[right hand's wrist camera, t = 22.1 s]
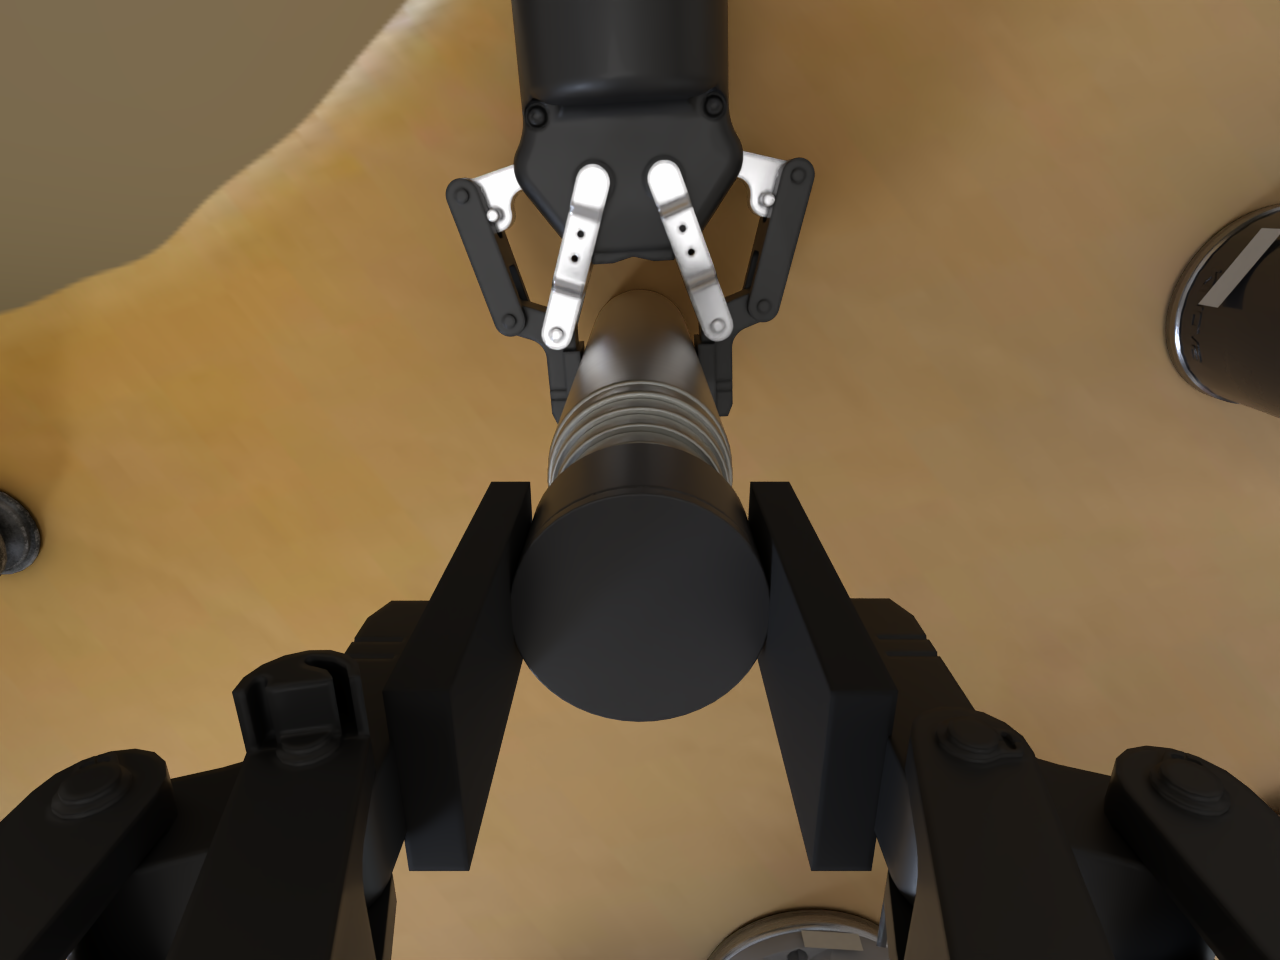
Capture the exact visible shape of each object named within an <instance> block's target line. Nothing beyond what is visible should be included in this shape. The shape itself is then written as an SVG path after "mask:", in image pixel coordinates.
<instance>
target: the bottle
mask: <svg viewBox="0 0 1280 960" xmlns="http://www.w3.org/2000/svg"><path fill="white" fill-rule="evenodd" d="M627 443H652V444H660V445H665V446H670V447H674V448H676V449H679V450H682V451H685V452H688V453H690V454H692V455H694V456H696V457H698V458H700V459H701V460H703V461H704V462H706V463H707V464H709V465H710V466H712V467H713V468H714V469H715V470H716V471H717V472H718V473H720V474H721V475H722V476H723V477H724V478H725V480H726V481H727V482H728V483H729V484H730V485H731V487H732V482H733V473H732V457H731V451H730V446H729V442H728V439H727V436H726V433H725V430H724V428H723V425H722V422H721V419H720V417H719V414H718V411H717V408H716V406H715V403H714V400H713V397H712V395H711V392H710V389H709V386H708V384H707V381H706V378H705V375H704V373H703V370H702V367H701V364H700V362H699V359H698V356H697V353H696V351H695V348H694V345H693V342H692V340H691V337H690V334H689V331H688V328H687V326H686V323H685V320H684V318H683V316H682V314H681V312H680V311H679V309H678V308H677V307H676V306H675V304H674V303H672V302H671V301H670V300H669V299H668V298H666V297H665V296H663V295H661V294H659V293H656V292H653V291H649V290H632V291H627V292H624V293H621V294H619V295H617V296H616V297H614V298H613V299H611V300H610V301H609V302H608V303H607V304H606V305H605V306H604V307H603V308H602V309H601V311H600V313H599V314H598V316H597V318H596V321H595V323H594V326H593V329H592V332H591V335H590V337H589V340H588V343H587V346H586V348H585V351H584V354H583V357H582V359H581V362H580V365H579V368H578V370H577V373H576V376H575V379H574V381H573V384H572V387H571V390H570V392H569V395H568V398H567V401H566V403H565V406H564V409H563V412H562V415H561V417H560V420H559V423H558V426H557V428H556V431H555V434H554V437H553V440H552V443H551V446H550V452H549V458H548V487H549V486H550V484H551V483H552V482H553V481H554V480H555V479H556V478H557V477H558V476H559V475H560V473H562V472H563V471H564V470H565V469H567V468H568V467H569V466H570V465H571V464H573V463H575V462H576V461H578V460H579V459H581V458H583V457H584V456H586V455H589V454H591V453H593V452H595V451H597V450H601V449H603V448H607V447H610V446H615V445H621V444H627Z"/></svg>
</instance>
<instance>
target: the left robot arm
mask: <svg viewBox="0 0 1280 960" xmlns="http://www.w3.org/2000/svg"><path fill="white" fill-rule="evenodd" d="M511 2H512V12H513V22H514V33H515V43H516V53H517V63H518V73H519V83H520V93H521V103H522V113H523V131H522V137H521V140H520V144H519V146H518V149H517V151H516V154H515V157H514V164H513V165H510V166H508V167H505V168H502V169H499V170H496V171H493V172H491V173H488V174H485V175H482V176H479V177H477V178H474V179H472V178H458V179H455V180H453V181H452V182H450V184H449V185H448V187H447V189H446V199H447V202H448V205H449V208H450V210H451V213H452V215H453V218H454V221H455V223H456V226H457V228H458V231H459V233H460V236H461V239H462V241H463V244H464V246H465V249H466V252H467V254H468V257H469V259H470V262H471V265H472V267H473V270H474V272H475V275H476V277H477V280H478V283H479V285H480V288H481V290H482V293H483V296H484V298H485V301H486V303H487V306H488V308H489V311H490V314H491V316H492V319H493V321H494V324H495V326H496V328H497V330H498V331H499V332H500V333H501V334H503V335H505V336H510V337H511V336H516V335H517V336H520V337H524V338H527V339H530V340H533V341H535V342H537V343H539V344H540V345H541V346H542V347H543V349H544V350H545V352H546V356H547V364H548V374H549V385H550V395H551V405H552V414H553V416H554V418H555V420H556V422H557V424H558V423H559V420H560V417H561V415H562V412H563V409H564V406H565V403H566V401H567V398H568V395H569V392H570V390H571V387H572V384H573V381H574V379H575V376H576V373H577V370H578V368H579V365H580V362H581V359H582V357H583V354H584V351H585V350H584V341H579V339H578V327H577V325H578V321H579V317H580V313H581V309H582V306H583V302H584V298H585V294H586V290H587V287H588V283H589V280H590V276H591V272H592V268H593V264H608V263H615V262H618V261H621V260H624V259H627V258H630V257H639V258H643V259H648V260H652V261H662V260H674V258H675V261H676V263H677V266H678V269H679V271H680V274H681V277H682V279H683V282H684V284H685V287H686V290H687V292H688V295H689V298H690V300H691V303H692V306H693V308H694V311H695V314H696V316H697V319H698V322H699V335H694V348H695V351H696V353H697V356H698V359H699V362H700V364H701V367H702V370H703V373H704V375H705V378H706V381H707V384H708V386H709V389H710V392H711V395H712V397H713V400H714V403H715V406H716V408H717V411H718V414H719V416H728V414H729V412H730V409H731V407H732V343H733V340H734V338H735V336H736V335H737V333H739V332H740V331H741V330H742V329H744V328H747V327H749V326H751V325H754V324H756V323H758V322H767V321H770V320H772V319H773V318H774V317H775V316H776V315H777V313H778V311H779V307H780V304H781V300H782V296H783V293H784V289H785V285H786V281H787V278H788V274H789V270H790V267H791V263H792V259H793V255H794V252H795V248H796V244H797V241H798V237H799V233H800V229H801V226H802V222H803V218H804V215H805V211H806V207H807V203H808V200H809V196H810V192H811V189H812V185H813V181H814V177H815V172H814V168H813V166H812V164H811V163H810V162H809V161H808V160H806V159H804V158H794V159H790V160H786V161H785V160H780V159H776V158H771V157H767V156H763V155H758V154H754V153H749V152H745V151H743V148H742V145H741V142H740V140H739V138H738V136H737V134H736V132H735V131H734V128H733V126H732V123H731V119H730V115H729V104H728V0H511ZM736 178H737V179H739V180H741V181H742V182H743V183H744V184H745V186H746V188H747V194H748V195H747V205H748V208H749V209H750V211H751V212H752V213H753V214H755V215H757V216H761V217H760V221H759V225H758V229H757V233H756V237H755V241H754V245H753V249H752V253H751V257H750V261H749V265H748V269H747V273H746V277H745V281H744V285H743V289H742V290H741V291H739V292H737V293H734V294H732V295H730V296H727V297H725V298H724V295H723V293H722V290H721V287H720V284H719V281H718V278H717V274H716V271H715V268H714V265H713V262H712V260H711V257H710V254H709V251H708V248H707V246H706V243H705V240H704V237H703V235H702V231H703V230H704V228H705V227H706V225H707V223H708V222H709V220H710V219H711V217H712V216H713V214H714V213H715V211H716V209H717V208H718V206H719V205H720V203H721V202H722V200H723V199H724V197H725V195H726V194H727V192H728V191H729V189H730V188H731V186H732V184H733V183H734V181H735V180H736ZM522 191H524V193H525V194H526V195H527V196H528V198H529V199H530V200H531V201H532V202H533V204H534V205H535V206H536V207H537V209H538V210H539V211H540V212H541V214H542V215H543V216H544V217H545V219H546V220H547V221H548V222H549V224H550V225H551V226H552V227H553V229H554V230H555V231H556V232H557V233H558V235H559V236H560V237H561V238H562V243H561V247H560V251H559V255H558V260H557V264H556V268H555V272H554V276H553V281H552V289H551V294H550V298H549V302H548V306H547V307H546V306H543V305H539V304H536V303H533V302H530V299H529V297H528V294H527V291H526V288H525V286H524V283H523V280H522V277H521V275H520V272H519V269H518V267H517V264H516V261H515V258H514V256H513V253H512V250H511V247H510V245H509V242H508V239H507V236H506V234H505V230H507V229H509V228H510V227H511V226H512V225H513V224H514V222H515V218H516V213H515V208H514V203H515V199H516V197H517V195H518V194H519V193H520V192H522ZM1166 341H1167V347H1168V351H1169V355H1170V357H1171V360H1172V362H1173V364H1174V366H1175V368H1176V370H1177V371H1178V373H1179V374H1180V375H1181V376H1182V378H1183V379H1184V380H1185V381H1186V382H1187V383H1188V384H1190V385H1191V386H1192V387H1193V388H1195V389H1197V390H1198V391H1200V392H1202V393H1204V394H1206V395H1209V396H1212V397H1214V398H1217V399H1220V400H1223V401H1227V402H1231V403H1236V404H1242V405H1244V406H1247V407H1250V408H1253V409H1256V410H1259V411H1262V412H1265V413H1267V414H1269V415H1272V416H1275V417H1278V418H1280V204H1277V205H1272V206H1268V207H1265V208H1262V209H1259V210H1256V211H1254V212H1251V213H1249V214H1247V215H1245V216H1243V217H1241V218H1239V219H1237V220H1236V221H1234V222H1232V223H1231V224H1229V225H1228V226H1226V227H1225V228H1224V229H1222V230H1221V231H1219V232H1218V233H1217V234H1216V235H1215V236H1213V237H1212V238H1211V239H1210V240H1209V241H1208V242H1207V243H1206V244H1205V245H1204V246H1203V247H1202V248H1201V249H1200V250H1199V251H1198V253H1197V254H1196V255H1195V256H1194V257H1193V259H1192V260H1191V261H1190V263H1189V264H1188V266H1187V267H1186V269H1185V270H1184V272H1183V273H1182V275H1181V277H1180V279H1179V281H1178V283H1177V285H1176V287H1175V289H1174V292H1173V295H1172V297H1171V300H1170V304H1169V308H1168V312H1167V319H1166Z"/></svg>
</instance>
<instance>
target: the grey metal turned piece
mask: <svg viewBox="0 0 1280 960" xmlns="http://www.w3.org/2000/svg"><path fill="white" fill-rule="evenodd" d="M39 549H40V535H39V531H38V529H37V526H36V523H35V521H34V520H33V519H32V517H31V516H30V514H29V513H28V511H27V510H26V509H25V508H24V507H23V506H22V505H21V504H20V503H19V502H18V501H16V500H15V499H13V498H12V497H10V496H9V495H7V494H6V493H3V492H1V491H0V575H1V574H13V573H16V572H19V571H22V570H24V569H25V568H27V567H28V566H29V565H31V564H32V563H33V562H34V560H35V559H36V557H37V556H38V553H39Z"/></svg>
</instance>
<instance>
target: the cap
mask: <svg viewBox="0 0 1280 960" xmlns="http://www.w3.org/2000/svg"><path fill="white" fill-rule="evenodd" d="M510 596H511V612H512V626H513V636H514V640H515V643H516V645H517V647H518V649H519V652H520V654H521V656H522V658H523V659H524V661H525V662H526V664H527V666H528V667H529V669H530V670H531V671H532V672H533V674H534V675H535V676H536V677H537V678H538V680H539V681H540V682H542V683H543V684H544V685H545V686H546V687H547V688H548V689H549V690H550V691H551V692H553V693H554V694H556V695H557V696H558V697H560V698H561V699H562V700H564V701H566V702H568V703H570V704H571V705H573V706H575V707H577V708H579V709H582V710H584V711H586V712H589V713H591V714H595V715H598V716H602V717H605V718H610V719H616V720H621V721H635V722H644V721H658V720H665V719H671V718H675V717H679V716H682V715H686V714H689V713H691V712H694V711H696V710H699V709H701V708H703V707H705V706H707V705H709V704H711V703H713V702H715V701H716V700H718V699H719V698H720V697H722V696H723V695H725V694H726V693H728V692H729V691H730V690H731V689H732V688H733V687H734V686H736V685H737V684H738V683H739V682H740V681H741V680H742V679H743V677H744V676H745V675H746V674H747V673H748V672H749V670H750V669H751V667H752V666H753V664H754V663H755V661H756V660H757V658H758V656H759V654H760V652H761V650H762V648H763V646H764V643H765V640H766V637H767V631H768V619H769V604H770V588H769V584H768V580H767V577H766V573H765V570H764V567H763V564H762V561H761V558H760V555H759V552H758V549H757V546H756V543H755V540H754V537H753V534H752V531H751V528H750V525H749V522H748V519H747V516H746V513H745V510H744V508H743V506H742V504H741V501H740V499H739V497H738V496H737V494H736V493H735V491H734V490H733V488H732V487H731V485H730V484H729V483H728V482H727V481H726V480H725V478H724V477H723V476H722V475H721V474H720V473H718V472H717V471H716V470H715V469H714V468H713V467H712V466H710V465H709V464H707V463H706V462H704V461H703V460H701V459H700V458H698V457H696V456H694V455H692V454H690V453H688V452H685V451H682V450H679V449H676V448H674V447H670V446H665V445H660V444H652V443H627V444H621V445H615V446H610V447H607V448H603V449H601V450H597V451H595V452H593V453H591V454H589V455H586V456H584V457H583V458H581V459H579V460H578V461H576V462H575V463H573V464H571V465H570V466H569V467H568V468H567V469H565V470H564V471H563V472H562V473H560V475H559V476H558V477H557V478H556V479H555V480H554V481H553V482H552V483H551V484H550V486H549V487H548V489H547V490H546V492H545V493H544V494H543V496H542V498H541V500H540V502H539V504H538V506H537V509H536V512H535V515H534V518H533V521H532V524H531V527H530V530H529V533H528V536H527V539H526V542H525V545H524V548H523V551H522V554H521V557H520V560H519V563H518V566H517V569H516V572H515V575H514V578H513V581H512V585H511V590H510Z"/></svg>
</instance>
